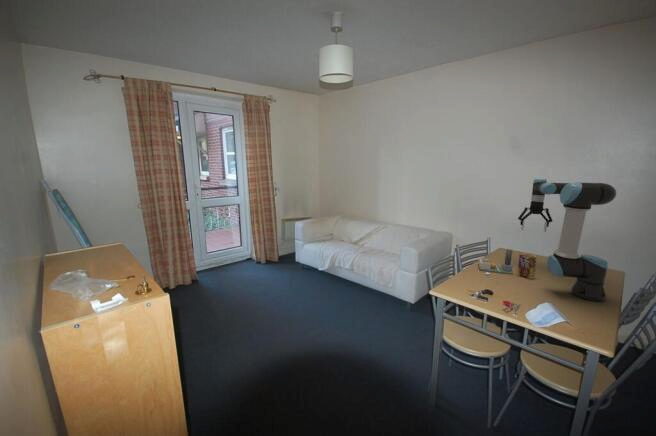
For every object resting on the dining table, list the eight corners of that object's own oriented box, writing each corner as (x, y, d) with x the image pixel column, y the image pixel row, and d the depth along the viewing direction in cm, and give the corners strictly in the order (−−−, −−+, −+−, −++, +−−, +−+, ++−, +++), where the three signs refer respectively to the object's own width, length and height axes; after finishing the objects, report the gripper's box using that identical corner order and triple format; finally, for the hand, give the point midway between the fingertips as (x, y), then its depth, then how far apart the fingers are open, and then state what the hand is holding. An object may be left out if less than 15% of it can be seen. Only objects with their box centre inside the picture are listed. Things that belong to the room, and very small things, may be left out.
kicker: (511, 271, 201) (514, 251, 198) (503, 270, 203) (506, 250, 200) (510, 268, 206) (512, 249, 204) (502, 267, 208) (504, 248, 205)
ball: (496, 269, 205) (497, 264, 205) (490, 268, 207) (491, 263, 206) (495, 267, 209) (496, 262, 208) (489, 266, 210) (490, 262, 209)
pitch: (512, 274, 198) (513, 267, 197) (480, 270, 205) (480, 263, 204) (508, 268, 210) (509, 261, 209) (477, 264, 217) (478, 257, 216)
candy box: (534, 278, 192) (537, 255, 190) (532, 279, 190) (535, 257, 187) (518, 274, 199) (521, 252, 196) (516, 275, 197) (519, 253, 194)
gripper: (557, 201, 203) (552, 230, 207) (515, 199, 213) (512, 227, 217) (560, 202, 197) (556, 233, 200) (517, 200, 206) (514, 229, 210)
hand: (533, 230), depth 209 cm, fingers open, 13 cm apart
